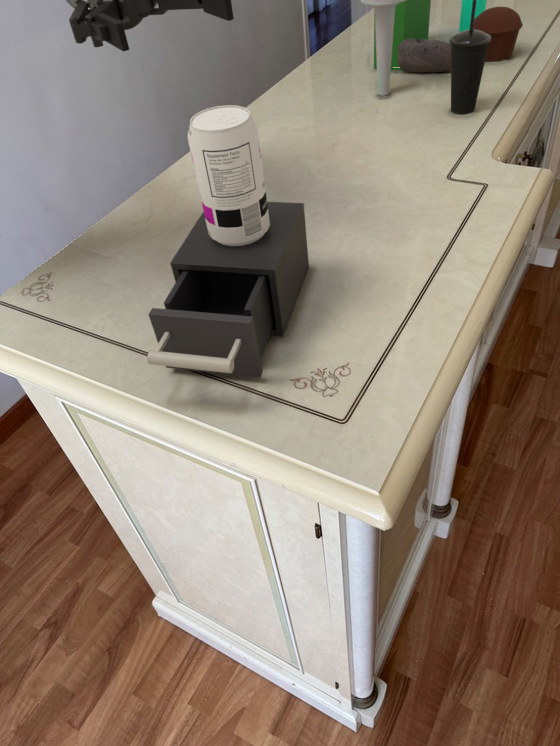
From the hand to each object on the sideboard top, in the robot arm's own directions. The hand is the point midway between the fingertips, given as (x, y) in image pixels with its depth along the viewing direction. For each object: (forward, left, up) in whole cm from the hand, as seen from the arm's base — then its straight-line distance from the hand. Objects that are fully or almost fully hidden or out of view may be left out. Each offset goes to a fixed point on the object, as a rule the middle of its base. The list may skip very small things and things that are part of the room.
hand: (177, 21), depth 67 cm
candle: (-51, +97, -34) cm, 115 cm away
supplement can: (+9, -1, -23) cm, 25 cm away
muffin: (-38, +92, -34) cm, 106 cm away
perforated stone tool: (-41, +75, -34) cm, 93 cm away
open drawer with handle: (+17, -9, -33) cm, 38 cm away
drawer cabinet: (+9, -1, -34) cm, 35 cm away
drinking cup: (-19, +65, -34) cm, 76 cm away
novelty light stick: (-38, +59, -34) cm, 79 cm away
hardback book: (-54, +77, -34) cm, 101 cm away
